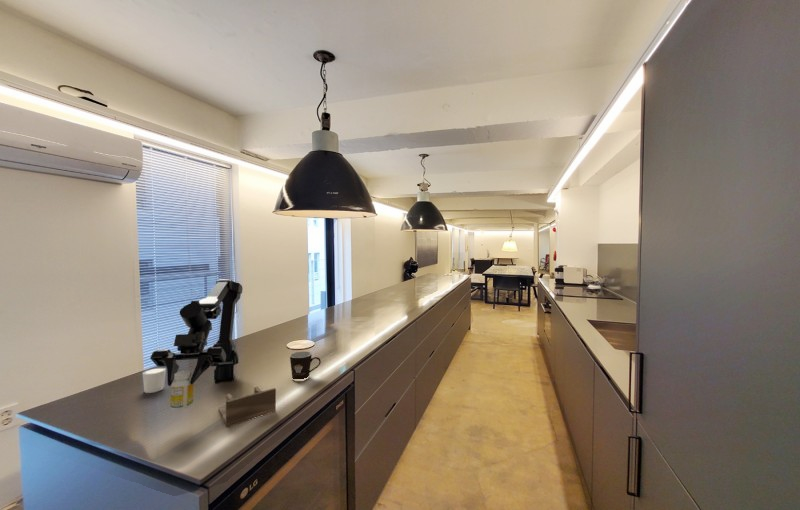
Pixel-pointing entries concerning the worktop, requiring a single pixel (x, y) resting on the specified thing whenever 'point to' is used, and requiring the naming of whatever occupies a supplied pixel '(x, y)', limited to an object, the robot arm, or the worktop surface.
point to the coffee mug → (301, 364)
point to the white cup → (154, 380)
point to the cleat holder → (248, 406)
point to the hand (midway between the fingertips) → (180, 384)
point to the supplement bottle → (181, 391)
